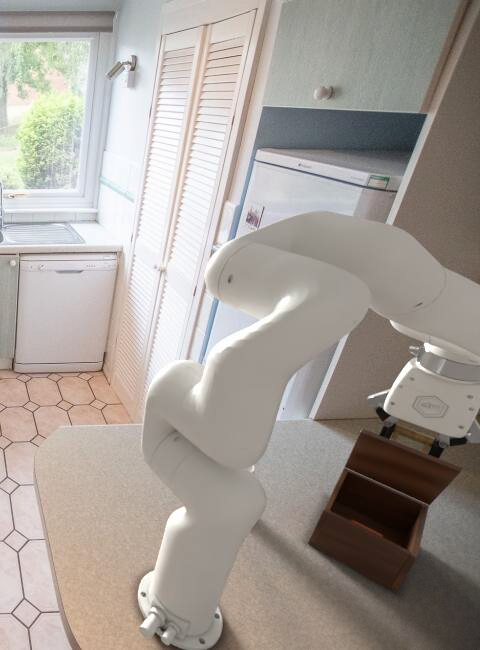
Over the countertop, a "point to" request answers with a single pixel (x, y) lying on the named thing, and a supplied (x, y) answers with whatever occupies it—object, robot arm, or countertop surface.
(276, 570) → the countertop surface
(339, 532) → the chest
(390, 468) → the lid
